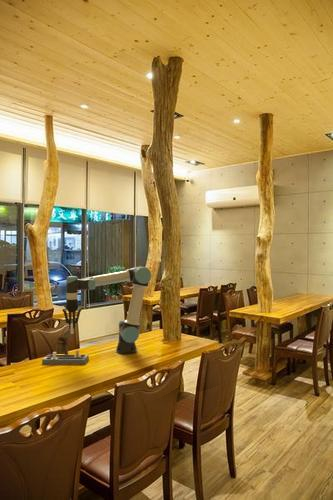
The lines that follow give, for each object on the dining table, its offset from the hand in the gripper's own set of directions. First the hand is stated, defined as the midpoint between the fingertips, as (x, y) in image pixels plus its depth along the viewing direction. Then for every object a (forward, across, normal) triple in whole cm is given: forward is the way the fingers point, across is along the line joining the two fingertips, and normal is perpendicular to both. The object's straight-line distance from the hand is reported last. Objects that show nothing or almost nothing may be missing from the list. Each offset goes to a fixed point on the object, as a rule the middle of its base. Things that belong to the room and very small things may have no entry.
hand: (72, 333), depth 243 cm
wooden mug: (+19, +10, -15) cm, 26 cm away
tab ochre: (+17, -4, 0) cm, 17 cm away
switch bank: (+18, +4, +3) cm, 19 cm away
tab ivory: (+17, +10, +6) cm, 20 cm away
